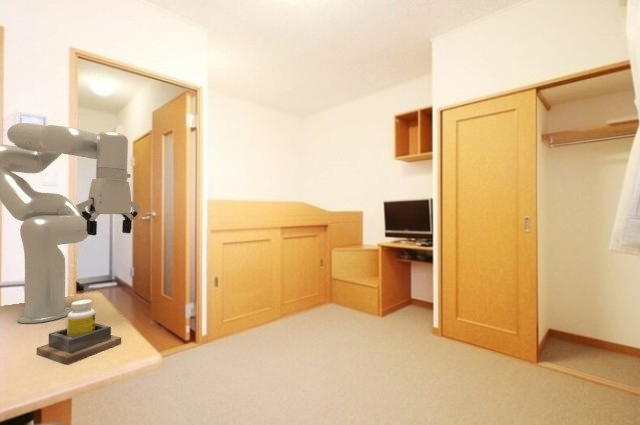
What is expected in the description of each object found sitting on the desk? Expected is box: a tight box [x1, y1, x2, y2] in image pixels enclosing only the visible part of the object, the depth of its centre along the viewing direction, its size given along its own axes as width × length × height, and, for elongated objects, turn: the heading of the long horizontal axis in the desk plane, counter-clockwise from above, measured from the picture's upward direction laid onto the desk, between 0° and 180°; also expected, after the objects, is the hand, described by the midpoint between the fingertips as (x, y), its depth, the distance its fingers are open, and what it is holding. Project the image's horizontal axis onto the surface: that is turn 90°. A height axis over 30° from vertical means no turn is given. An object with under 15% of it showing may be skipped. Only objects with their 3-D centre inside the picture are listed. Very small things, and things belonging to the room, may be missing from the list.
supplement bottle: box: [66, 299, 96, 338], centre depth 76 cm, size 5×5×10 cm
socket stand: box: [36, 322, 122, 366], centre depth 76 cm, size 12×12×4 cm
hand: (110, 234), depth 91 cm, fingers open, 9 cm apart
